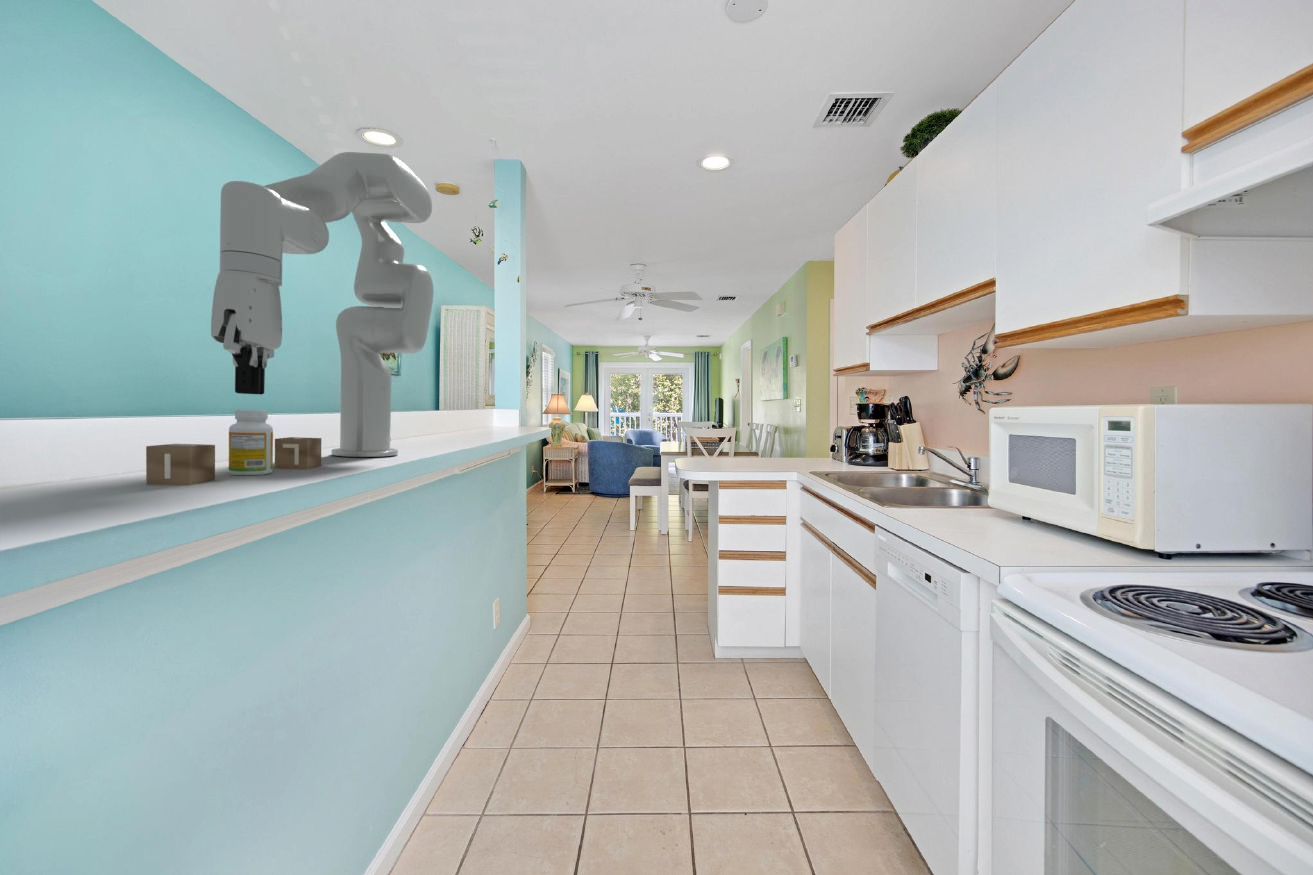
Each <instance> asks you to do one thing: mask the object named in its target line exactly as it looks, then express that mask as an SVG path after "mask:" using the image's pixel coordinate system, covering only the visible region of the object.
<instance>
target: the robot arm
mask: <svg viewBox="0 0 1313 875" xmlns="http://www.w3.org/2000/svg"><path fill="white" fill-rule="evenodd" d="M432 202H433V201H432V198H431V194H430V192H429V190H428V189H427V187H426V185H425V184H424V183H423V182H422V181H421V179H420V178H419V177H418V176H417V175H416V174H415V173H414V172H413V171H412V170H411V169H410V168H409V167H408V166H407V165H406V164H405V163H404V162H402V161H401V160H400V159H399V158H397V157H395V156H393V155H391V154H387V153H378V152H377V153H376V152H358V151H356V152H355V151H343V152H340V153H337V154H335V155H333V156H332V157H331V158H329V159H328V160H326V161H325V162H323V163H322V164H320V165H319V166H317V167H316V168H315V169H314V170H312V171H310V172H309V173H307V174H304V175H303V174H302V175H299V176H295V177H290V178H288V179H285V180H281V181H278V182H273V183H270V184H269V183H268V184H266V185H262V184H258V183H254V182H249V181H243V180H232V181H231V180H230V181H228V182H226V183H224V184H223V185H222V188H221V190H220V224H219V228H220V230H219V234H220V235H219V272H218V275H217V278H216V280H215V285H214V290H213V291H214V292H213V299H212V307H211V320H210V322H211V323H210V334H211V335H210V336H211V337H212V339H213V340H214V341H215V342H217V343H220V344H223V345H222V346H223V350H225V351H227V352H229V353H230V354H231V355H232V364H233V366H234V370H235V371H234V392H235V393H236V394H243V395H261V396H262V395H263V394H265V379H266V377H265V374H266V373H265V372H266V370H265V369H267V364H268V359H269V360H270V359H272V358H274V357H275V350H277V349H279V348H280V347H281V346H282V342H283V340H282V339H283V316H282V315H283V312H282V301H281V290H280V287H282V286H283V254H287V255H288V254H289V255H314V254H318V253H320V252H322V251H324V249H326V248H327V246H328V243H329V241H330V233H329V228H328V226H327V224H330V223H333V222H337V221H341V220H342V219H345V218H346V217H347V216H349V215H350V214H351V213H352V216H353V219H354V221H355V223H356V226H357V228H358V231H359V233H360V239H361V248H360V254H359V259H358V262H357V268H356V270H355V271H356V272H355V277H354V283H353V292H354V295H355V297H356V299H357V300H358V301H359V302H360V303H362V304H364V305H359V306H358V305H357V306H350V307H347V308H344V309H343V310H341V312H339V314H338V315H337V318H336V321H335V322H336V323H335V330H336V336H337V340H338V346H339V347H338V348H339V353H340V369H341V370H340V426H339V427H340V428H339V430H340V433H339V437H340V438H339V440H340V441H339V444H340V445H339V448H338V447H337V448H332V449H331V450H330V452H331V456H336V457H337V456H338V457H347V458H348V457H349V458H350V457H351V458H376V457H377V458H378V457H379V458H380V457H392V456H393V457H394V456H397V455H398V454H399V451H398V449H396V448H391V441H392V438H391V417H392V416H391V415H392V414H391V413H392V412H391V411H392V373H391V372H392V371H391V370H390V367H389V366H388V364H387V363H386V362H385V360H384V359H383V357H382V356H381V354H385V353H386V354H387V353H388V354H389V353H390V354H416V353H418V352H421V350H422V349H423V348H424V347H425V345H426V341H427V338H428V332H429V325H430V320H431V315H432V314H431V313H432V307H433V302H434V294H435V293H434V289H435V288H434V283H433V278H432V276H431V274H430V272H429V271H428V269H426V268H425V267H424V266H423V265H420V264H415V263H407V262H406V263H405V262H404V257H405V248H404V245H403V243H402V242H401V240H400V239H399V237H398V236H397V235H396V233H395V232H394V231H393V230H392V229H391V228H390V227H389V226H388V224H387V223H386V222H390V223H405V224H406V223H407V224H409V223H410V224H421V223H425V222H426V221H427V220H428V219H429V218H430V217H431V214H432V210H433V204H432Z"/></svg>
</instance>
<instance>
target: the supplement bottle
mask: <svg viewBox="0 0 1313 875" xmlns="http://www.w3.org/2000/svg"><path fill="white" fill-rule="evenodd" d="M268 415H269V413H268V410H265V409H235V410H234V419H235V420H236V422H235V423H233V424H230V426H229V428H228V473H229V474H230V475H232V476H263V475H269V474H272V472H273V470H274V467H273V465H274V461H273V460H274V459H273V457H274V450H273V449H274V447H273V446H274V444H273V443H274V429H273V426H272V425H270V424H268V423H267V422H266V421H267V420H268V417H269V416H268Z"/></svg>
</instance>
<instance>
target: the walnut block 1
mask: <svg viewBox="0 0 1313 875" xmlns="http://www.w3.org/2000/svg"><path fill="white" fill-rule="evenodd" d="M145 447H146V448H145V453H146V454H145V457H146V458H145V460H146V461H145V466H146V469H145V470H146V471H145V472H146V474H145V475H146V478H145V480H146V485H153V486H156V485H161V486H162V485H165V486H167V485H169V486H192V485H197V484H202V483H203V484H204V483H208V482H212V481H216V444H202V443H201V444H200V443H198V444H195V443H169V444H156V445H146V446H145Z"/></svg>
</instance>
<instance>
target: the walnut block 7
mask: <svg viewBox="0 0 1313 875" xmlns="http://www.w3.org/2000/svg"><path fill="white" fill-rule="evenodd" d="M321 466H322V437H298V436H294V437H292V436H289V437H282V438H281V437H279V438H274V469H284V470H287V469H288V470H289V469H291V470H292V469H293V470H308V469H314V468H319V467H321Z"/></svg>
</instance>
